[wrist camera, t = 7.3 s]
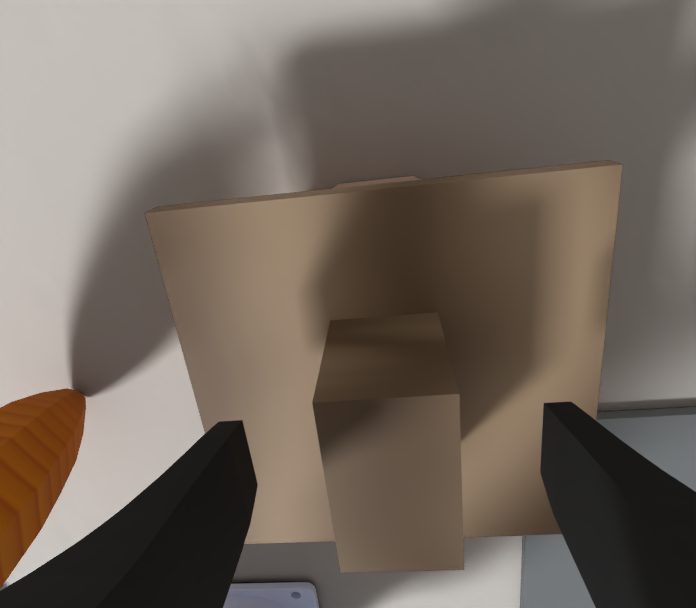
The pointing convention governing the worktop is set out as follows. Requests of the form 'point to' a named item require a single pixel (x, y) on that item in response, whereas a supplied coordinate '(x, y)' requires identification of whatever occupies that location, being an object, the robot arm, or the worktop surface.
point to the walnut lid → (396, 349)
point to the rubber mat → (551, 550)
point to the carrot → (34, 465)
